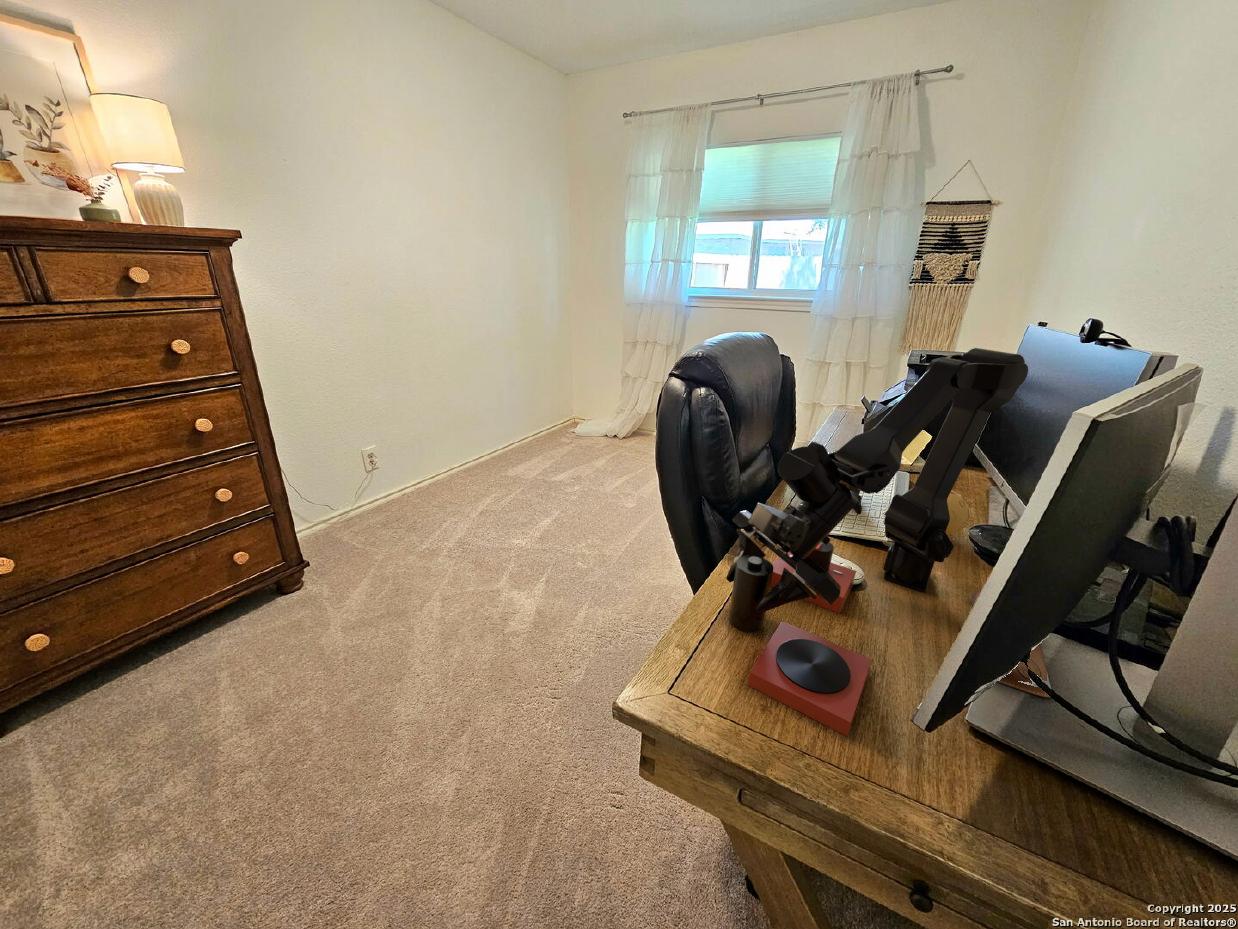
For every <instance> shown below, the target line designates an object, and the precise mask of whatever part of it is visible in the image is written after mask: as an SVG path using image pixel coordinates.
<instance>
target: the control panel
mask: <svg viewBox="0 0 1238 929" xmlns="http://www.w3.org/2000/svg"><path fill="white" fill-rule="evenodd" d="M787 554H788V555H789V557H790V558H791V557H792V556H793V555H792V554H791V553H790V552H788V553H787ZM771 564H772V565H773V575H772V581H771V587H770V588H772V589H773V588H774V586H775V585H776V584H777V583H778V582H779V581H780V579H781V576H782V573H783V569H784V567H785V568H786V569H787V570H788V571H789V572H791V573H793V572H794V571H796V570H794V569H793V568H792V567H791V566H789V565H788V564H787V563H786V562H785V561H783V560H782V559H781V558H780V557H778V556H777V557H776V558H775V560H774V561H773V562H771ZM827 572H828V573H829V574H830V575H831V576H832V577H833V579H834V580H835V581H836V582H837V583H838V584H839V585H840V586H841V591H840V595H839V597H838V598H837V599H836V600H835V601H834V602H833V604H832V605H830V604H829V603H827V602H826V601H825V600H824V599H823V598H821V597H820V596H819V595H818V594H817V593H816V594H815V596H816V597H817V598H816V599H815V600H814V599H812V598H811V597H809V598H805V599H802V600H804V601H807V602H809V603H811V604H814V605H816V606H819V607H820V608H821V607H822V608H824V609H826V610H829V611H831V612H834V613H836V614H841V612H842V609H843V608H844V605H845V603H846V601H847V599H848V597H849V595H850V593H851V591H852V589H853V586H854V583H855V579H854V578H856V574H857V570H855V569H851V568H848V567H845V566H842V565H839V564H837V563H834V562H831V563H830V568H829V570H828V571H827ZM853 581H854V582H853Z"/></svg>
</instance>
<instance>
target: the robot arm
mask: <svg viewBox="0 0 1238 929" xmlns="http://www.w3.org/2000/svg"><path fill="white" fill-rule="evenodd" d="M1028 374H1029V366H1028V365H1027V363H1026V362H1025V358H1024V356H1022V354H1019V353H1013V352H1006V351H1000V350H994V349H993V350H992V349H986V348H981V347H974V348H971V349H969V350H968V351H967V352H963V353H957V354H948V355H947V356H945V357H938V358H934V359H932V360H931V362H929V364H928V365H927V367H926V369H925V373H924V374H923V375H922V376H921V377H920V378H919V379H918V380H917V381H916V382H915V384H914V385H912V387H911V388H910V389H909V390H908V391H907V392H906V393H905V394H904V395H903V397H901V399H899V400H898V402H897V403H896V404H895V405H894V406H893V407H892V408H891V409H890V411H889V412H888V413H887V414H886V415H885V416H884V417H883V418H882V419H881V420H880V421H879V422H878V423H877V424H876V425H875V426H874V427H873V428H871V429H870V430H868V431H864V432H861V433H859V434H857V435H855V436H853V437H852V438H851V439H849V441H847V442H846V443H845V444H843V446H841V447H840V448H839V449H837V450H833V452H832V451H830V453H829V451H828V450H827V448H826V447H825V446H824V445H823V444H821V443H819V442H817V441H815V440H812V441H811V442H809V444H807V446H799V447H796V448H793V449H791V450H790V451H787V452H785V453H784V454H783V455H782V456H781V458H780V459H779V461H778V463H777V473H778V476H780V478H781V479H782V480H783V481H784V482H785V484H786V485H787V486H788V487H789V488H790V489H791V491H792V492H793V493H794V494H795V495H796V496H797V498H798V499H799V500H801V501H800V503H799V504H798V505H797V506H796V507H795V506H793V505H792V504H790V505H788V506H786V507H785V508H784V509H783V510H781V509H778V508H776V507H773V506H770V505H767V504H764V503H761V502H757V504H756V506H755V508H754V510H753V511H752V513H751V512H749V511H748V510H742V511H738V513H737V514H736V515H735V516H734V517H733V518H732V519H731V521H732V522H733V524H735V526H737V527H738V528H736V533H737V534H738V547H737V551H736V553H735V555H734V558H733V561H732V563H731V564H730V567H729V570H728V573H727V575H726V577H725V579H726V580H727V582H729V583H733V582H734V575H735V568H736V561H737V559H738V558H739V557H741V556H745V555H755V556H759V557H762V558H765V557H766V556H767V554H766V553H765V552H764V551H763V550H762V548H764V547H766V548H767V549H768V550H770V551H771V552H772V553H773V554H775V556H777V557H780V558H781V559H782V560H783V561H785V562H786V563H787V564H788V565H789V566H791V567H792V568H793V569H794V570H796V571H794V572H793V573H791V572H789V571H788V570H787V569H786V568H785V567H784V569H783V573H782V576H781V579H780V581H779V582H778V583H777V584H776V585H775V586H774V588H773V587H772V588H771V589H770V592H769V593H768V594H767V595H766V596H765V597H764V598H763V599H762V600H761V602H760V603H759V604H758V606H757V607H756V610H757V611H758V612H759V613H763V612H766V613H767V612H768V611H772V610H774V609H776V608H779V607H781V606H784V605H787V604H790V603H793V602H794V603H795V602H797V601H800V600H803V599H805V598H809V597H811V598H812V599H814V600H815V599H816V598H817V597H816V596H815V594H816V593H817V594H818V595H819V596H820V597H821V598H823V599H824V600H825V601H826V602H827V603H829V604H830V605H832V604H833V602H834V601H835V600H836V599H837V598H838V597H839V595H840V591H841V586H840V585H839V584H838V583H837V582H836V581H835V580H834V579H833V577H832V576H831V575H830V574H829V573H828V572H827V571H826V570H824V569H823V568H822V567H820V566H819V565H818V564H816V563H815V562H814V561H813V560H811V559H810V558H808V556H809V555H810V553H811V552H812V551H813V550H814V549H815V548H816V547H817V546H818V545H819V544H820V543H821V542H822V543H824V544H825V545H827V544H828V543H829V542H830V543H831V541H832V540H831V538H830V537H829V534H831V532H832V531H833V530H834V529H835V528H836V527H837V526H838V525H839V524H840V523H841V522H842V521H843V520H844V519H845V518H846V517H847V515H849V513H850V512H852V513H854V514H855V515H857V516H859V515H861V514H862V511H863V507H862V506H863V505H862V498H863V496H862V495H860V494H859V495H858V494H856V493H854V492H852V491H850V490H849V488H848V487H847V486H845V485H844V484H842V483H839V482H840V481H843V482H845V483H847V484H849V485H851V486H853V487H855V488H857V489H858V490H860V492H862V493H864V494H869V495H870V494H878V493H881V491H883V490H885V488H886V487H887V486H888V485H889V484H890V482H891V481H892V480H893V479H894V477H895V475H896V474H897V473H898V472H899V470H900V469H901V465H902V460H903V459H902V458H903V453H904V452H905V450H906V449H907V448H908V447H909V445H910V444H911V443H912V442H913V441H914V440H915V439H916V438H917V436H919V434H920V433H921V432H922V431H924V429H925V428H926V427H927V426H928V425H929V424H930V423H931V422H932V421H933V420H934V419H935V417H937V415H938V414H939V413H940V412H941V411H942V410H943V409H944V408H945V407H946V405H947V404H949V402H950V401H952V404H951V407H950V409H949V411H948V413H947V415H946V418H944V422H943V424H942V426H941V428H940V430H939V432H938V435H937V437H936V438H935V441H934V443H933V445H932V447H931V448H930V451H929V453H928V454H927V458H926V459H925V462H924V464H923V466H922V467H921V469H920V472H919V475H918V476H917V479H916V481H915V482H914V484H913V487H912V488H911V489H909V490H908V491H906V492H904V493H902V494H898V493H897V494H895V495H894V496H893V497H892V498H891V501H890V504H889V507H888V508H887V510H886V511H885V512H884V514H883V515H884V520H883V526H884V533H885V535H884V536H885V538H886V539H889V540H891V541H893V544H890V545H889V547H888V550H887V554H886V556H885V560H884V563H883V567H882V570H883V571H884V574H883V579H884V580H885V581H889V582H892V583H896V584H898V585H900V586H904V587H907V588H910V589H913V590H916V591H919V592H922V593H927V591H928V588H929V584H930V579H931V575H932V572H933V568H934V565H935V562H936V563H944V562H945V559H947V558H949V557H950V555H951V554H952V552H953V550H954V548H955V545H954V543H953V542H952V540H951V539H950V538H949V535H948V536H947V534H946V529H947V526H948V524H949V521H950V515H949V509H948V503H947V499H948V496H949V494H950V492H951V490H953V488H954V486H955V484H956V483H957V481H958V478H959V476H960V474H961V472H962V471H963V468H964V466H965V464H966V462H967V460H968V458H969V456H970V454H971V452H972V450H973V448H974V446H975V444H976V442H977V440H978V439H979V437H980V434H981V433H982V430H983V428H984V426H985V424H986V422H987V421H988V418H989V416H990V415H991V413H994V412H995V411H996V410H998V409H999V408H1001V407H1003V406H1004V405H1006V404H1007V403H1008V402H1009V401H1011V400H1012V399H1013V397H1014V396H1015V394H1016V393H1017V391H1018V390H1019V388H1020V386H1022V385H1023V384H1024V382H1025V381H1026V379H1027V377H1028ZM788 552H790V553H791V554H792V555H793V556H792V557H791V558H790V557H789V555H788V554H787V553H788Z"/></svg>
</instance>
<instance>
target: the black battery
mask: <svg viewBox="0 0 1238 929" xmlns="http://www.w3.org/2000/svg"><path fill="white" fill-rule="evenodd" d="M772 575H773V565H772V562H771V561H769V560H768V559H767V558H765V557H763V558H762V557H759V556H755V555H745V556H741V557H739V558H738V559H737V561H736V568H735V575H734V581H732V590H731V598H730V605H729V614H728V621H729V623H730V624H731V625H732V626H733V627H734V628H735V629H737V630H739V631H741V632H745V633H757V632H760V631H761V630H762V629H763V628H764V626H765V620H766V615H767V611H766V612H763V613H759V612H758V611H757V610H756V607H757V606H758V604H759V603H760V602H761V600H762V599H763V598H764V597H765V596H766V595H767V594H768V593H769V592H770V591H771V588H772V587H771V581H772Z"/></svg>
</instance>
